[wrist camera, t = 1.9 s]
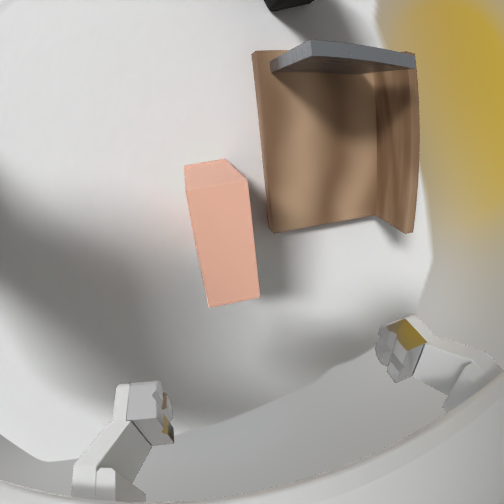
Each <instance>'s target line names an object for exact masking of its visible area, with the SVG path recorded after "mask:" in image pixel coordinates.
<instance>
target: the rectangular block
mask: <svg viewBox="0 0 504 504" xmlns="http://www.w3.org/2000/svg"><path fill="white" fill-rule="evenodd" d="M184 175H185V190H186V196H187V202H188V207H189V213H190V218H191V223H192V228H193V234H194V239H195V244H196V249H197V253H198V258H199V263H200V268H201V272H202V277H203V282H204V286H205V292H206V297H207V302H208V307H209V308H211V307H216V306H221V305H226V304H230V303H235V302H240V301H244V300H249V299H254V298H258V297H260V290H259V281H258V272H257V262H256V253H255V244H254V235H253V225H252V216H251V207H250V198H249V189H248V180H247V179H246V178H245V177H244V176H243V175H242V174H241V173H239V172H238V171H237V170H236V169H235V168H234V167H233V166H232V165H231V164H230V163H229V162H228V161H227V160H226V159H220V160H214V161H208V162H202V163H196V164H191V165H185V166H184Z"/></svg>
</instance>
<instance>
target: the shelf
mask: <svg viewBox="0 0 504 504" xmlns="http://www.w3.org/2000/svg"><path fill="white" fill-rule="evenodd" d="M287 51H289V50H268V51H255V52H254V53H253V54H252V62H253V71H254V80H255V89H256V98H257V108H258V118H259V127H260V137H261V147H262V158H263V168H264V179H265V190H266V201H267V213H268V224H269V228H270V230H271V231H272V232H273V233H279V232H284V231H289V230H295V229H300V228H306V227H311V226H317V225H322V224H328V223H333V222H339V221H344V220H350V219H356V218H361V217H367V216H373V215H376V216H377V217H379V218H381V219H382V220H384V221H386V222H387V223H389V224H390V225H392V226H394V227H395V228H397V229H398V230H400V231H402V232H403V233H405V234H407V233H411V232H413V228H414V220H415V211H416V201H417V188H418V173H419V142H420V141H419V139H420V137H419V136H420V134H419V133H420V132H419V129H420V128H419V96H418V81H417V69H409V70H395V71H384V72H375V73H366V74H358V75H352V74H338V73H314V72H280V73H271V71H270V62H269V61H271V60H273V59H275V58H277V57H278V56H280V55H282V54H284V53H286V52H287ZM401 53H405V54H409V55H413V56H415V54H414V53H410V52H401ZM415 61H416V60H415Z"/></svg>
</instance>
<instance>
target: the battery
mask: <svg viewBox="0 0 504 504" xmlns="http://www.w3.org/2000/svg"><path fill="white" fill-rule="evenodd" d="M264 1H265V3H266V5H267V7H268V8H269V10H271V11H277V10H281V9H286V8H290V7H295V6H300V5H305V4H309V3H311V2H313V1H314V0H264Z"/></svg>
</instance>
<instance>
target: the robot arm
mask: <svg viewBox="0 0 504 504" xmlns="http://www.w3.org/2000/svg"><path fill="white" fill-rule="evenodd" d="M378 334H379V335H380V336H381V337H380V338H379V339H378V341H377V342H376V347H375V350H376V355H377V357H378V360H379V361H380V363H381V364H383V365H385V366H387V372H388V374H389V375H390V377H391V378H392V379H393V381H394V382H395V383H397V382H399V381H401V380H404V379H406V378H408V377H411V376H413V377H414V378H416V379H418V380H420V381H421V382H423V383H425V384H427V385H429V386H431V387H433V388H435V389H437V390H438V391H440V392H442V393H444V394H446V395H448V397H447V399H446V400H445V402H444V403H443V408H444V410H445V411H446V414H444V415H443V416H441V417H440V418H438V419H437V420H435V421H433V422H431V423H430V424H428V425H427V426H425V427H423V428H421V429H419V430H418V431H416V432H414V433H412V434H410V435H409V436H407V437H405V438H403V439H401V440H399V441H397V442H395V443H393V444H391V445H389V446H387V447H385V448H383V449H381V450H379V451H377V452H374V453H372V454H370V455H367V456H365V457H363V458H360V459H358V460H356V461H353V462H351V463H348V464H345V465H343V466H340V467H338V468H335V469H332V470H329V471H326V472H323V473H321V474H317V475H314V476H311V477H308V478H305V479H301V480H298V481H295V482H291V483H287V484H283V485H280V486H276V487H271V488H267V489H263V490H258V491H254V492H249V493H243V494H237V495H231V496H224V497H218V498H210V499H200V500H190V501H176V502H146V494H145V493H144V492H143V491H141V490H140V489H138V488H137V487H136V486H134V485H133V484H132V483H133V481H134V479H135V477H136V476H137V474H138V472H139V470H140V468H141V467H142V465H143V463H144V461H145V459H146V457H147V456H148V454H149V452H150V450H151V448H152V446H156V445H165V444H174V432H173V427H172V425H171V424H170V421H171V419H172V418H173V416H172V408H171V403H170V400H169V398H168V396H167V394H166V393H164V392H163V386H162V384H161V383H160V381H158V380H157V381H148V382H136V383H126V384H118V386H117V388H116V394H115V402H114V410H113V420H112V422H108V423H107V425H106V426H105V427H104V428H103V429H102V431H101V432H100V433H99V434H98V436H97V437H96V438H95V439H94V441H93V442H92V443H91V444H90V446H89V447H88V448H87V449H86V450H85V452H84V453H83V454H82V455H81V457H80V458H79V459H78V460H77V462H76V463H75V464H74V469H73V479H72V491H71V496H64V495H59V494H54V493H48V492H44V491H39V490H35V489H31V488H27V487H23V486H20V485H16V484H13V483H10V482H6V481H3V480H0V504H504V371H503V369H502V368H501V367H500V366H499V365H498V364H497V363H496V362H495V361H494V360H493V359H492V358H491V357H490V356H489V355H488V354H487V353H486V352H484V351H481V350H478V349H476V348H473V347H469V346H467V345H463V344H461V343H458V342H455V341H452V340H449V339H446V338H443V337H438V338H437V337H436V336H435V335H434V334H433V332H431V330H430V329H429V328H428V327H427V326H426V325H425V324H424V323H423V322H422V321H421V320H420V319H419V318H418V317H417V316H416V315H414V314H411V315H409V316H406V317H404V318H401V319H398V320H395V321H393V322H390V323H388V324H385V325H382V326H381V327H380V329H379V333H378Z"/></svg>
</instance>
